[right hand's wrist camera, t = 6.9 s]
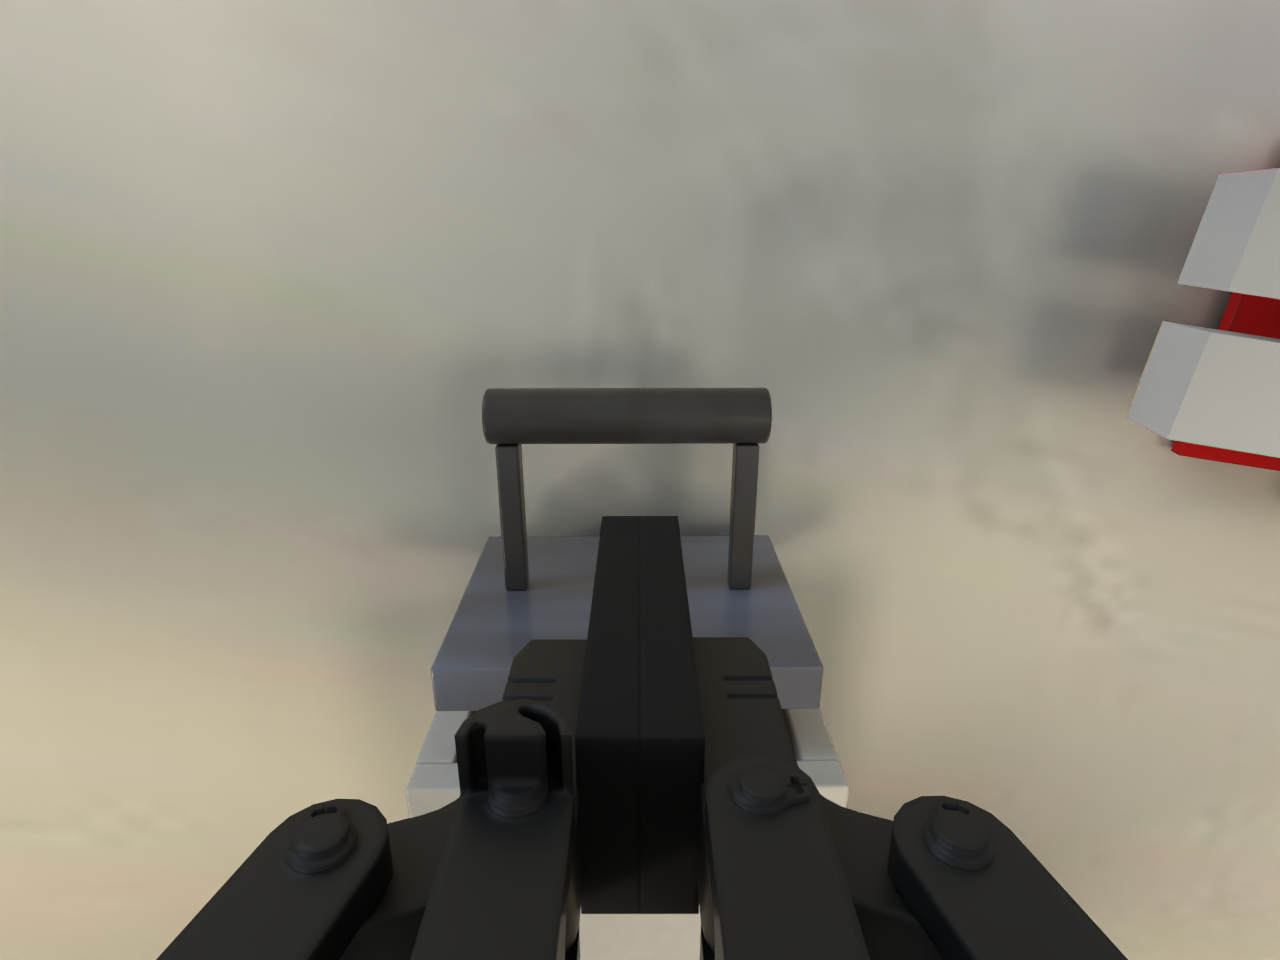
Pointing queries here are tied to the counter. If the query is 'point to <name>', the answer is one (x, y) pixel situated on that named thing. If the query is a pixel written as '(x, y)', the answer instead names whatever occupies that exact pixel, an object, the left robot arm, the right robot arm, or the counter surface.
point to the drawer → (565, 566)
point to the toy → (1224, 335)
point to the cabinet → (624, 943)
